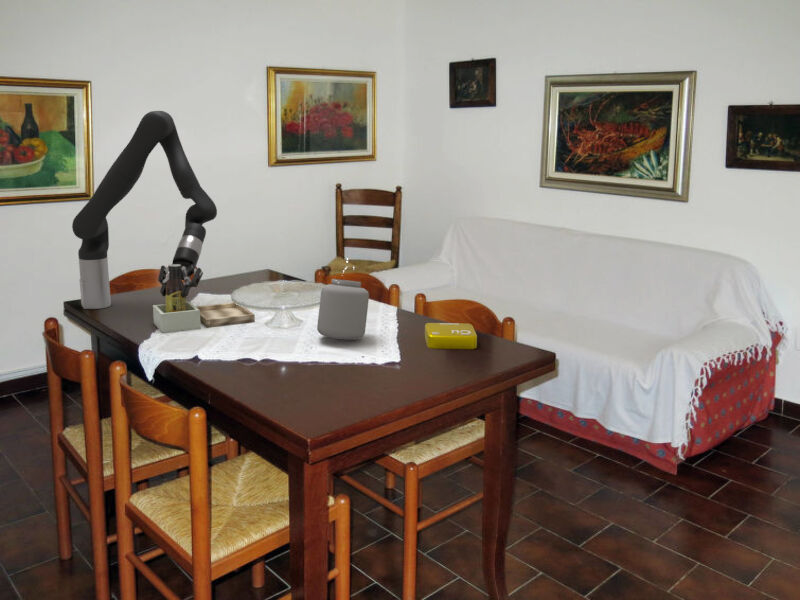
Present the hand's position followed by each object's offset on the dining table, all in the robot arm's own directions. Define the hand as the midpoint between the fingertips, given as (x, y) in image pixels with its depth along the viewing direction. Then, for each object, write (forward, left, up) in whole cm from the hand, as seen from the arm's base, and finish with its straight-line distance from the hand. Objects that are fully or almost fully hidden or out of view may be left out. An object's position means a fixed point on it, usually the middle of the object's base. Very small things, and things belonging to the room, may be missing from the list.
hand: (173, 295), depth 242 cm
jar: (+44, -34, -11) cm, 56 cm away
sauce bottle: (+1, +1, -11) cm, 11 cm away
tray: (+17, +4, -10) cm, 20 cm away
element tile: (+72, -51, -11) cm, 89 cm away
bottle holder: (+1, +1, -10) cm, 10 cm away
